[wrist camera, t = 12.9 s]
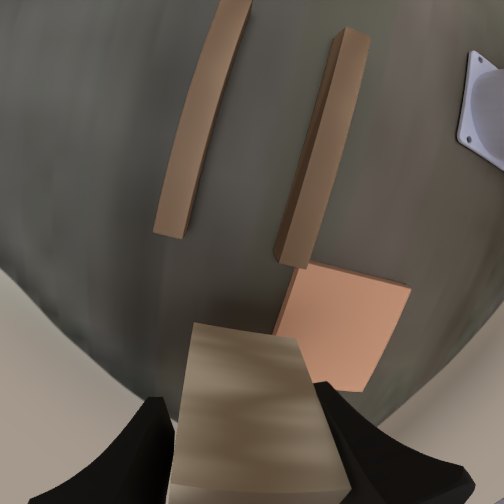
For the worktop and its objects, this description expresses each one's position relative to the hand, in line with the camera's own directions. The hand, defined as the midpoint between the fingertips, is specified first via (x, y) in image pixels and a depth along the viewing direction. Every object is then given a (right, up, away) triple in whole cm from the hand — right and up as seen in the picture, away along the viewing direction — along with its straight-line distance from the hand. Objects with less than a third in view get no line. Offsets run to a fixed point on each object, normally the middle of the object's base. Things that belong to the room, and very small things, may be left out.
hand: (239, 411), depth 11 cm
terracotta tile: (+6, +1, +11) cm, 12 cm away
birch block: (0, +1, +3) cm, 3 cm away
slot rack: (+1, +13, +6) cm, 15 cm away
